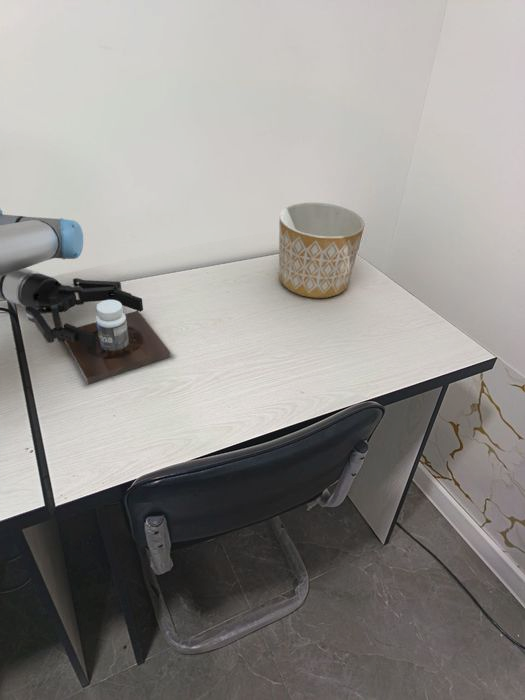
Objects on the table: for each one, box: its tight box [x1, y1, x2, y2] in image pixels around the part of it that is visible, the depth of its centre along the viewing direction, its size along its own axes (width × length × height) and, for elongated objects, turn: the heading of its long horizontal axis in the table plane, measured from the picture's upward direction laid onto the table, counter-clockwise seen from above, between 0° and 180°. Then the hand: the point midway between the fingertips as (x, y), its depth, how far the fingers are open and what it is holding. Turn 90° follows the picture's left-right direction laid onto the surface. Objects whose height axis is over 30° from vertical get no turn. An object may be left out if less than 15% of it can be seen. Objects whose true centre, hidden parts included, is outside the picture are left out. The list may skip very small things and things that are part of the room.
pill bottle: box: [95, 300, 129, 351], centre depth 94 cm, size 6×6×10 cm
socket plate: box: [64, 310, 171, 385], centre depth 97 cm, size 16×16×2 cm
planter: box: [278, 202, 366, 299], centre depth 117 cm, size 19×19×16 cm
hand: (119, 322), depth 93 cm, fingers open, 13 cm apart
